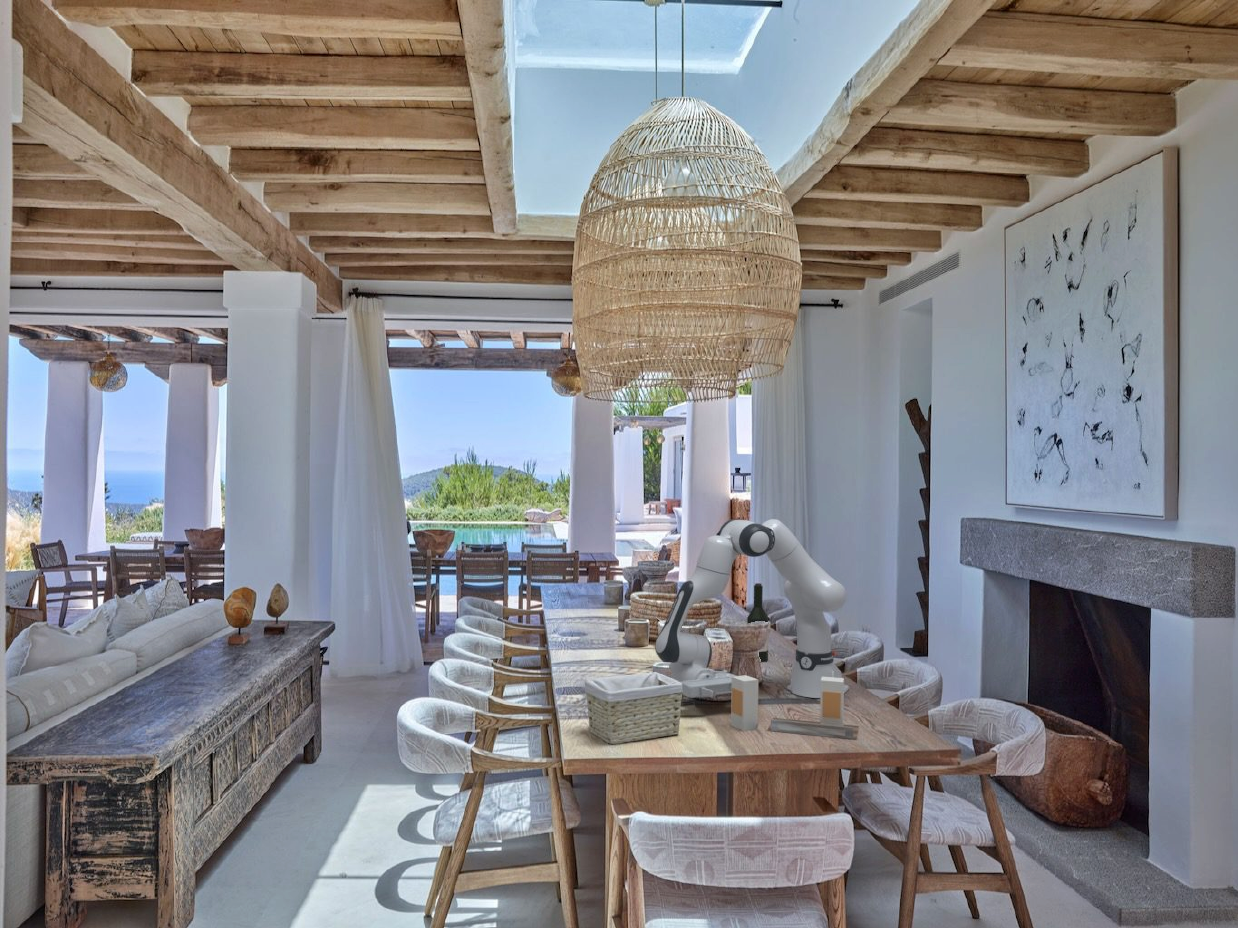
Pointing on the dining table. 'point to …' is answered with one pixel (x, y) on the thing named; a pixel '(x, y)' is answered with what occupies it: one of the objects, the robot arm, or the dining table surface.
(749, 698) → the cream carton
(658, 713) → the storage basket
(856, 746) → the dining table surface
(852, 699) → the dining table surface
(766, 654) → the wine bottle
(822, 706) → the carton
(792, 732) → the shelf board
